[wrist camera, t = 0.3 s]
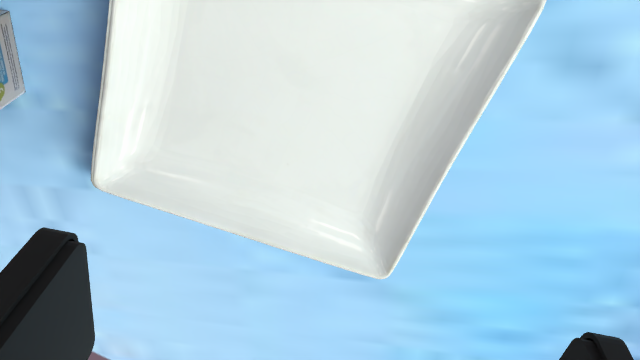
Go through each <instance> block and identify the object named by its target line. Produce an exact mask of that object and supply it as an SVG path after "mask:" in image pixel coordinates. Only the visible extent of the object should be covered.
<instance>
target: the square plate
mask: <svg viewBox="0 0 640 360" xmlns="http://www.w3.org/2000/svg"><path fill="white" fill-rule="evenodd" d="M545 3H546V0H110V1H109V12H108V22H107V32H106V41H105V52H104V61H103V70H102V78H101V87H100V96H99V105H98V112H97V120H96V129H95V138H94V145H93V155H92V168H91V181H92V184H93V185H94V186H95V187H96V188H98V189H100V190H101V191H104V192H107V193H110V194H113V195H116V196H119V197H122V198H124V199H127V200H131V201H134V202H137V203H140V204H143V205H146V206H149V207H153V208H156V209H159V210H162V211H165V212H168V213H171V214H174V215H177V216H181V217H184V218H187V219H190V220H193V221H196V222H199V223H202V224H205V225H208V226H211V227H215V228H218V229H221V230H224V231H227V232H230V233H233V234H236V235H239V236H242V237H246V238H249V239H252V240H255V241H258V242H261V243H264V244H267V245H270V246H273V247H276V248H279V249H283V250H286V251H289V252H292V253H295V254H298V255H301V256H305V257H308V258H311V259H314V260H317V261H320V262H323V263H326V264H330V265H333V266H336V267H339V268H342V269H346V270H349V271H352V272H355V273H359V274H362V275H365V276H369V277H372V278H376V279H385V278H387V277H388V276H389V275H390V274H391V273H392V271H393V270H394V268H395V266H396V265H397V263H398V261H399V260H400V258H401V256H402V255H403V253H404V251H405V249H406V247H407V245H408V243H409V241H410V240H411V238H412V236H413V234H414V232H415V230H416V228H417V227H418V225H419V223H420V221H421V219H422V218H423V216H424V214H425V212H426V210H427V209H428V207H429V205H430V203H431V201H432V200H433V198H434V195H435V194H436V192H437V190H438V188H439V187H440V185H441V183H442V181H443V180H444V178H445V176H446V174H447V173H448V171H449V169H450V167H451V166H452V164H453V162H454V161H455V159H456V157H457V155H458V154H459V152H460V150H461V149H462V147H463V145H464V143H465V142H466V140H467V138H468V137H469V135H470V133H471V132H472V130H473V128H474V126H475V125H476V123H477V122H478V120H479V118H480V117H481V115H482V113H483V112H484V110H485V108H486V106H487V105H488V103H489V101H490V100H491V98H492V96H493V95H494V93H495V91H496V90H497V88H498V86H499V85H500V83H501V82H502V80H503V78H504V76H505V75H506V73H507V71H508V69H509V68H510V66H511V64H512V63H513V61H514V59H515V58H516V56H517V54H518V52H519V51H520V49H521V47H522V46H523V44H524V42H525V41H526V39H527V37H528V36H529V34H530V32H531V30H532V28H533V27H534V25H535V23H536V21H537V19H538V18H539V16H540V14H541V12H542V10H543V8H544V5H545Z"/></svg>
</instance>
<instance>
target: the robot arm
mask: <svg viewBox="0 0 640 360" xmlns="http://www.w3.org/2000/svg"><path fill="white" fill-rule="evenodd" d="M94 341H95V332H94V322H93V312H92V302H91V292H90V282H89V272H88V262H87V252H86V246H85V244H84V243H80V242H78V238H77V236H76V234H74V233H70V232H65V231H59V230H54V229H49V228H41V229H39V230H38V231H37V232H36V233H35V234H34V235H33V236H32V237H31V238H30V240H29V241H28V242H27V243H26V244H25V245H24V246H23V247H22V249H21V250H20V251H19V252H18V253H17V254H16V255H15V257H14V258H13V259H12V260H11V261H10V262H9V263H8V265H7V266H6V267H5V268H4V269H3V270H2V271H1V272H0V360H88V358H89V356H90V354H91V352H92V349H93V346H94ZM559 360H634V359H633V358H632V356H631V354H630V352H629V350H628V348H627V346H626V344H625V343H624V341H623V340H621V339H620V338H616V337H611V336H606V335H601V334H596V333H590V332H587V333H584V334H583V335H582V336H581V337H580V338H575V339H573V341H572V342H571V343H570V345H569V346H568V347H567V349H566V350H565V352H564V353H563V355H562V356H561V358H560V359H559Z"/></svg>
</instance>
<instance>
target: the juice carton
mask: <svg viewBox="0 0 640 360" xmlns="http://www.w3.org/2000/svg"><path fill="white" fill-rule="evenodd" d="M24 92H25V87H24V82H23V77H22V72H21V68H20V63H19V58H18V53H17V48H16V43H15V38H14V33H13V28H12V23H11V18H10V13H9V11H5V10H0V109H2V108H3V107H5V106H6V105H8V104H9V103H11V102H12V101H13V100H15V99H16V98H18V97H19V96H21V95H22V94H23V93H24Z"/></svg>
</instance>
